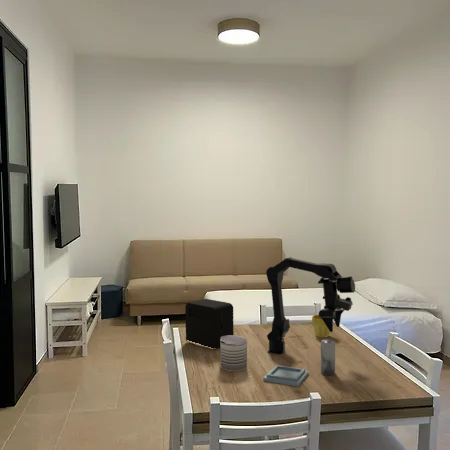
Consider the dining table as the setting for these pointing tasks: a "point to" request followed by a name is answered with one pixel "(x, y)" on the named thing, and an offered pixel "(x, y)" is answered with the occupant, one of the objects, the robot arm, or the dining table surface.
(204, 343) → the air purifier
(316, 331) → the plant pot
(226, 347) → the can
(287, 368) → the plate
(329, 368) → the grey shiny round cylinder
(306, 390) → the dining table surface
